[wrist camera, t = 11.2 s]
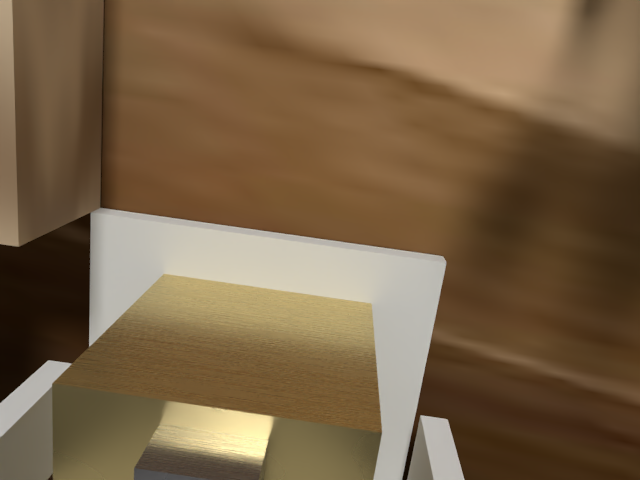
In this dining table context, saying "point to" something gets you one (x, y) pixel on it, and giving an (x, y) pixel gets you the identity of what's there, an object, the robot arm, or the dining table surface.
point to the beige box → (222, 389)
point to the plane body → (49, 114)
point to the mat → (286, 275)
